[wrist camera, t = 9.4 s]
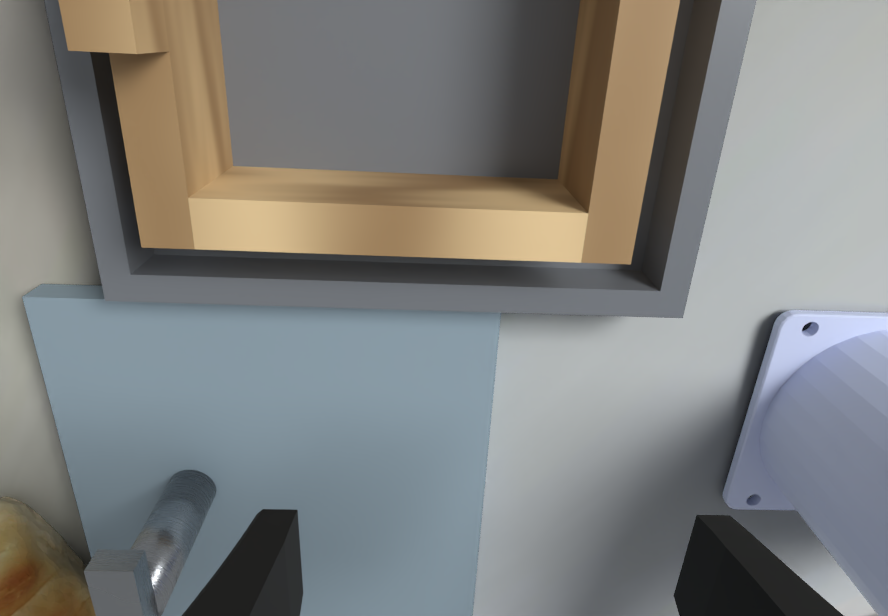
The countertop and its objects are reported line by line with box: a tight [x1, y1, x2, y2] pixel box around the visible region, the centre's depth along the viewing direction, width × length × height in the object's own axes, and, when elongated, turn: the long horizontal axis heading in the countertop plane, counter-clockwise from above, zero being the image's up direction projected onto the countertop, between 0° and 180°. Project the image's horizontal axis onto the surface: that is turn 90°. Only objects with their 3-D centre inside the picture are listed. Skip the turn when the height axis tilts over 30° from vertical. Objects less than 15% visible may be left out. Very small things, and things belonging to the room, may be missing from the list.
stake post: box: [84, 470, 216, 616], centre depth 18 cm, size 2×4×5 cm, turn 177°
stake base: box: [22, 284, 501, 616], centre depth 21 cm, size 14×14×1 cm
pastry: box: [0, 497, 96, 616], centre depth 22 cm, size 9×7×4 cm
